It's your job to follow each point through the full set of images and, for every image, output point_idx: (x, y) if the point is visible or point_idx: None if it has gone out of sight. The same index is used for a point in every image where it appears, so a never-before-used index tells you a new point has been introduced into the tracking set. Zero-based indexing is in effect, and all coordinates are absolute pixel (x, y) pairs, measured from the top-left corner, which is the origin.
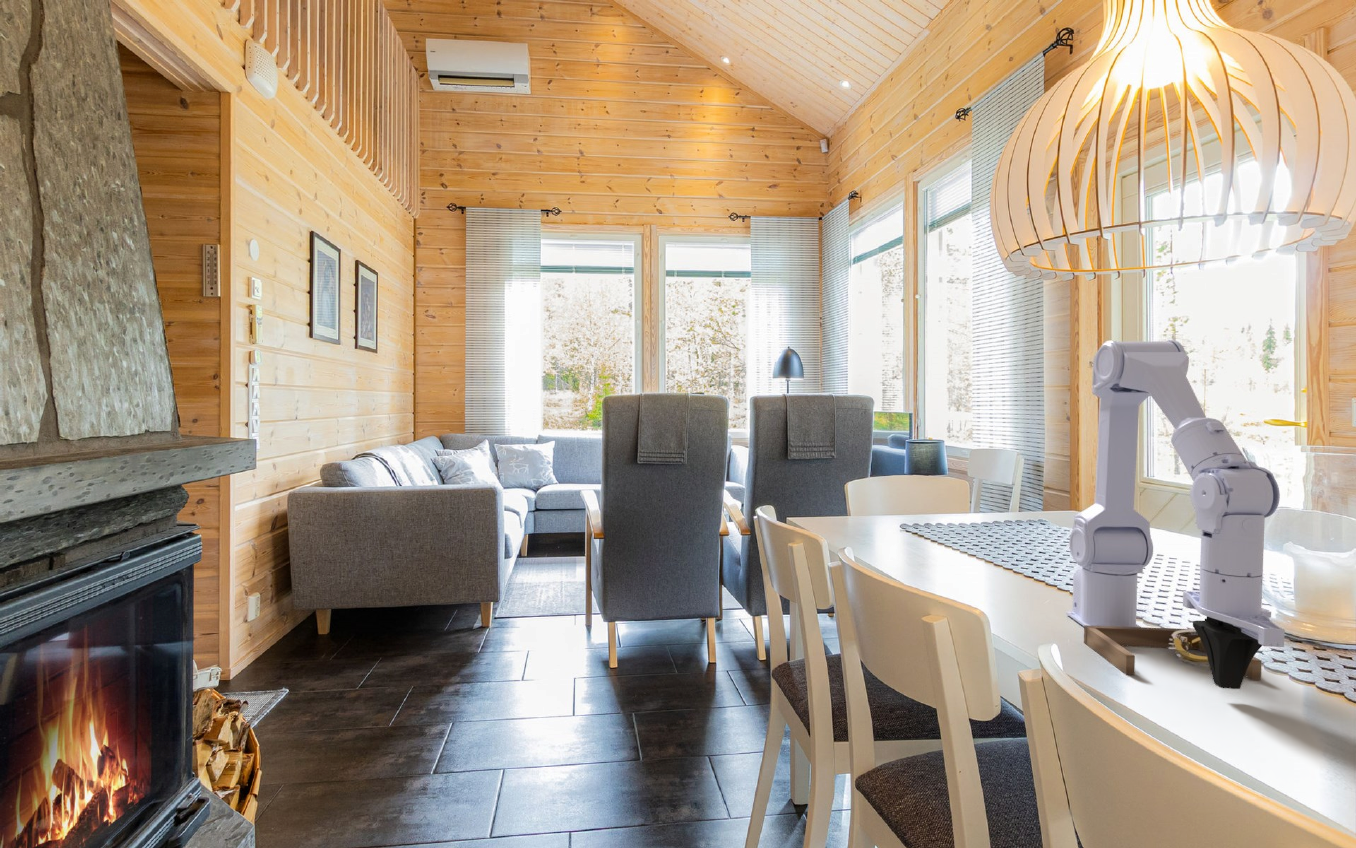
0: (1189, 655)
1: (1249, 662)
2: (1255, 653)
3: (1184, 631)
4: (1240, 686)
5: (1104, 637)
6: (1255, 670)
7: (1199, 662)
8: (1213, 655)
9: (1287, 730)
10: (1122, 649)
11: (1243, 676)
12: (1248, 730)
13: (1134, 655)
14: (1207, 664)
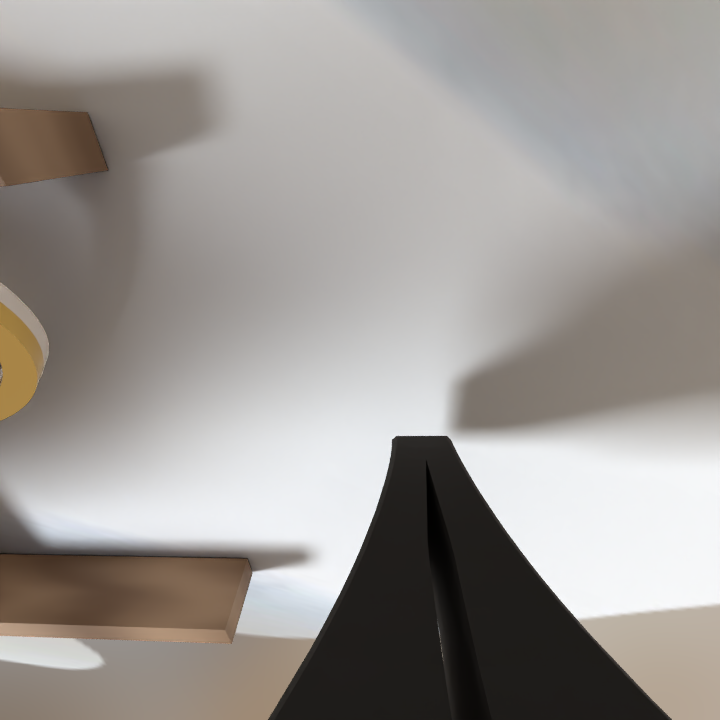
0: (3, 408)
1: (530, 566)
2: (603, 649)
3: None
4: (450, 442)
5: (48, 632)
6: (59, 156)
7: (42, 373)
8: (444, 670)
9: (707, 375)
10: (168, 634)
11: (472, 482)
12: (667, 485)
13: (222, 629)
14: (46, 347)
